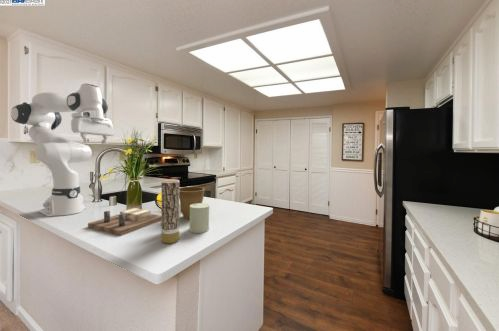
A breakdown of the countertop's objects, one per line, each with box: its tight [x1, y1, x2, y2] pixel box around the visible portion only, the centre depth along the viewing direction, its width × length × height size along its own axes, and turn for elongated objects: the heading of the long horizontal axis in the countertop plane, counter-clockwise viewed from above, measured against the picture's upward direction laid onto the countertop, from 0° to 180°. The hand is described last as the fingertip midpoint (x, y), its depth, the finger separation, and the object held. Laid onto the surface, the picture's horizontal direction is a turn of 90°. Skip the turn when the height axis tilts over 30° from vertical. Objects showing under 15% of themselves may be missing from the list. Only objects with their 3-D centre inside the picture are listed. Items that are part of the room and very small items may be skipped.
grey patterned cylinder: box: [160, 178, 180, 245], centre depth 90 cm, size 7×7×25 cm
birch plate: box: [119, 207, 152, 221], centre depth 113 cm, size 12×8×3 cm, turn 68°
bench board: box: [87, 210, 161, 237], centre depth 109 cm, size 22×24×7 cm
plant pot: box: [179, 186, 205, 220], centre depth 121 cm, size 15×15×16 cm
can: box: [188, 202, 211, 234], centre depth 104 cm, size 9×9×12 cm
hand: (95, 143), depth 113 cm, fingers open, 8 cm apart
